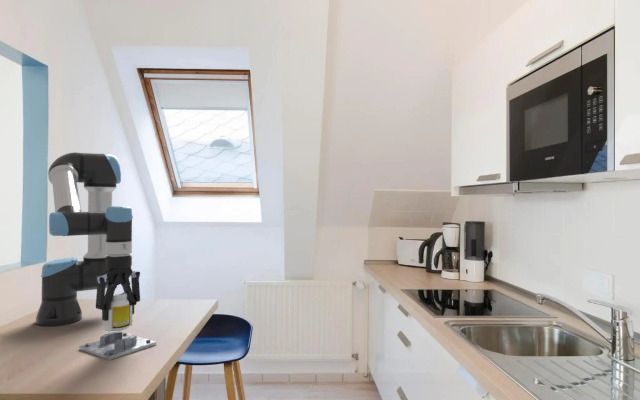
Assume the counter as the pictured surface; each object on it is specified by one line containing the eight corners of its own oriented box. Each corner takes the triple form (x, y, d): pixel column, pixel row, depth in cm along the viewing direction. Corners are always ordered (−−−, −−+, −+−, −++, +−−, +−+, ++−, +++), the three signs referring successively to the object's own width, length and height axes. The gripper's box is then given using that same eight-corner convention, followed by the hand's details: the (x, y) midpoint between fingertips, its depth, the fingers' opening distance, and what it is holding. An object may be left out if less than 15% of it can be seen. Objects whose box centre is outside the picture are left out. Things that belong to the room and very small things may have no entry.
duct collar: (79, 349, 134) (79, 338, 134) (126, 335, 148) (126, 325, 148) (109, 360, 126) (109, 348, 126) (156, 344, 139) (156, 333, 139)
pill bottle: (133, 326, 139) (133, 292, 139) (120, 332, 133) (120, 296, 133) (116, 325, 140) (116, 291, 140) (103, 330, 134) (103, 295, 134)
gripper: (95, 259, 127) (95, 337, 127) (152, 252, 143) (152, 322, 143) (82, 257, 131) (81, 333, 131) (139, 251, 147) (138, 319, 147)
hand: (118, 327), depth 137 cm, fingers closed on pill bottle, 6 cm apart
